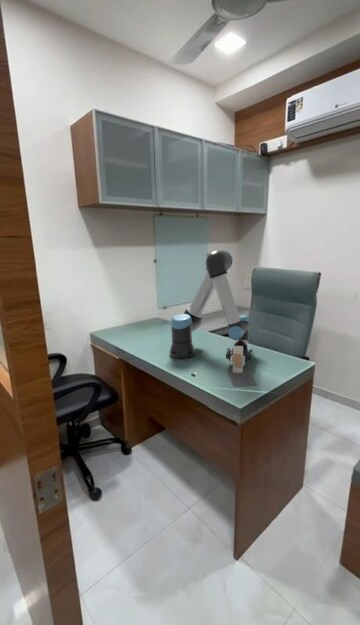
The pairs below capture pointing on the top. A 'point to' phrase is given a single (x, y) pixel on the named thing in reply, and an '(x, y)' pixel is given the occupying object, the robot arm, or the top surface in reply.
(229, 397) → the top surface
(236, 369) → the card box
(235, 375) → the mat
